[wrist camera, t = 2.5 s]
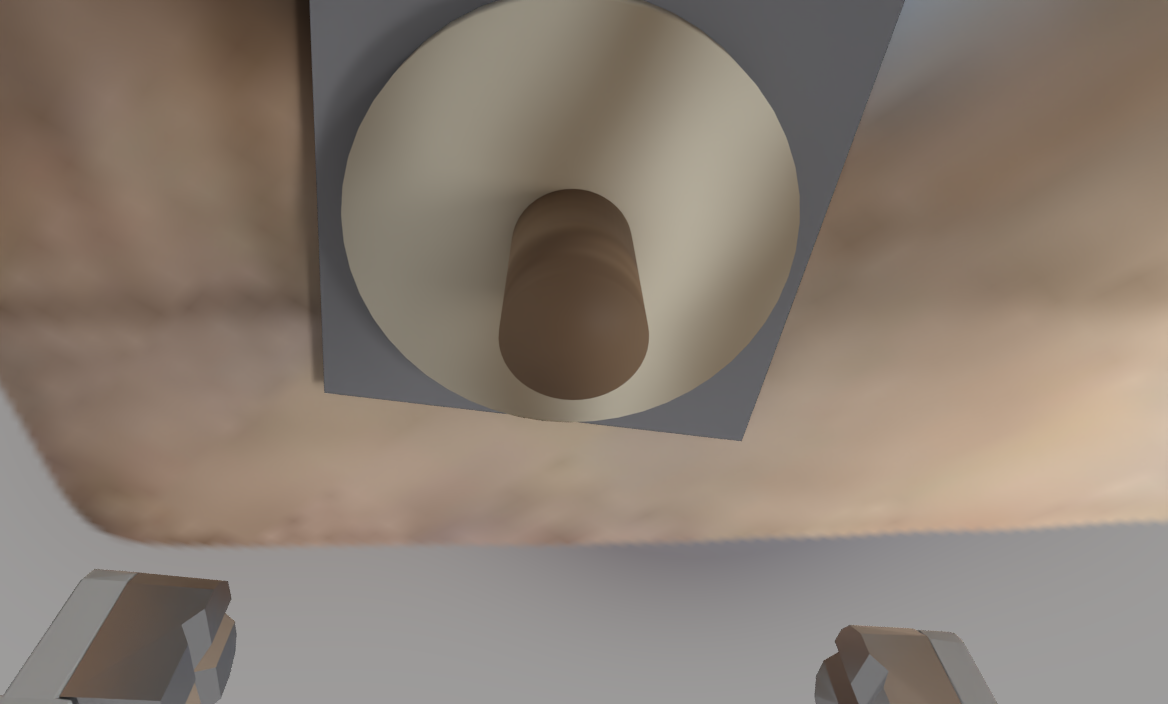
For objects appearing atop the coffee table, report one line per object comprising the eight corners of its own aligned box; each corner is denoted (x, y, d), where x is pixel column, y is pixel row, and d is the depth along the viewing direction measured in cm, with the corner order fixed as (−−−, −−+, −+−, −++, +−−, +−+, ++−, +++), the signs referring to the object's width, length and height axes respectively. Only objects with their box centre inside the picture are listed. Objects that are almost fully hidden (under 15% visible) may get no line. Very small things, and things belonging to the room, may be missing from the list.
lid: (850, 34, 18) (961, 99, 13) (721, 414, 24) (762, 554, 19) (350, -55, 16) (257, -20, 12) (356, 372, 23) (299, 511, 18)
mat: (895, -5, 18) (905, -2, 17) (738, 429, 25) (741, 441, 25) (313, -116, 16) (304, -116, 16) (329, 381, 24) (324, 392, 23)
